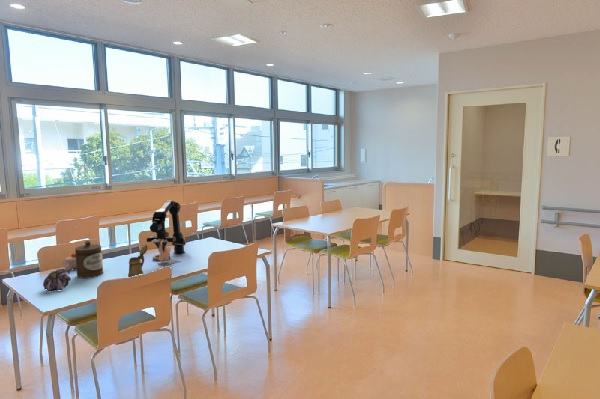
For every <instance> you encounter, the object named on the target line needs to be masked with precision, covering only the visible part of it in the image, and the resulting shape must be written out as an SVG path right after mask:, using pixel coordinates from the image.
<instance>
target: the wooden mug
mask: <svg viewBox="0 0 600 399" xmlns="http://www.w3.org/2000/svg"><path fill="white" fill-rule="evenodd" d="M147 250H148V245H147V244H146V245H144V246H142V247H141V249H140V251H139V255H138V256H137V257H135V256H134V257H130V258H129V260H128V264H129V265H128V266H129V267H128V273H127V276H128V277H129V278H131V277H130V276H135V275H139V274H143V275H144V271H143V266H144V263H145V257H144V255H145V254H146V253H147Z"/></svg>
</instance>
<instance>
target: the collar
mask: <svg viewBox="0 0 600 399" xmlns="http://www.w3.org/2000/svg"><path fill="white" fill-rule="evenodd" d="M169 260H171V255H170V256H169ZM152 261H154V262H161V261H160V260H159V254H156V255H153V256H152Z"/></svg>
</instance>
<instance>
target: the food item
mask: <svg viewBox="0 0 600 399" xmlns="http://www.w3.org/2000/svg"><path fill="white" fill-rule="evenodd" d="M62 266H63V269H66V270H68V271H69V270H70V271H73V270H72V269H74V270H77V268H76V253H72V254H71V255H70V256H68V257H65V258H64V259H63V260H62Z"/></svg>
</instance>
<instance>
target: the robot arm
mask: <svg viewBox="0 0 600 399" xmlns="http://www.w3.org/2000/svg"><path fill="white" fill-rule="evenodd" d="M181 206H182V205H181V204H180V203H179V202H177V201H174V200H173V199H172V200H166V201H165V203H164V204H163V205H162V207H160V209H156V210H155V211H154V212H153V215H152V219H151V222H152V224H151V225H150V226H149V230H150V231H151V232H152V233H155V234H156V236H155V235H154V236H152V235H150V236H148V237H147V238H146V242H147V243H151V242H153V244H155V246H156V247H157V249H158V250H159V246H162V248H163V252H164V250H165V247H166V246H167V244H168V243H171V245H172V246H174V247H173V250H174V252H173V254H176V255H179V254H180V255H181V254H184V253H186V251H185V247H184V246H186V240H185V238H184V235H183V233H182V232H181V227H180V217H179V216H180V215H179V214H180V211H181ZM167 213H169V214H170V215H171V220H172V228H173V229H172V231H173V234H172V235H171V236H170V232H167V230H166V223H165V222H166V218H167ZM161 241H162V242H161Z"/></svg>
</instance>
